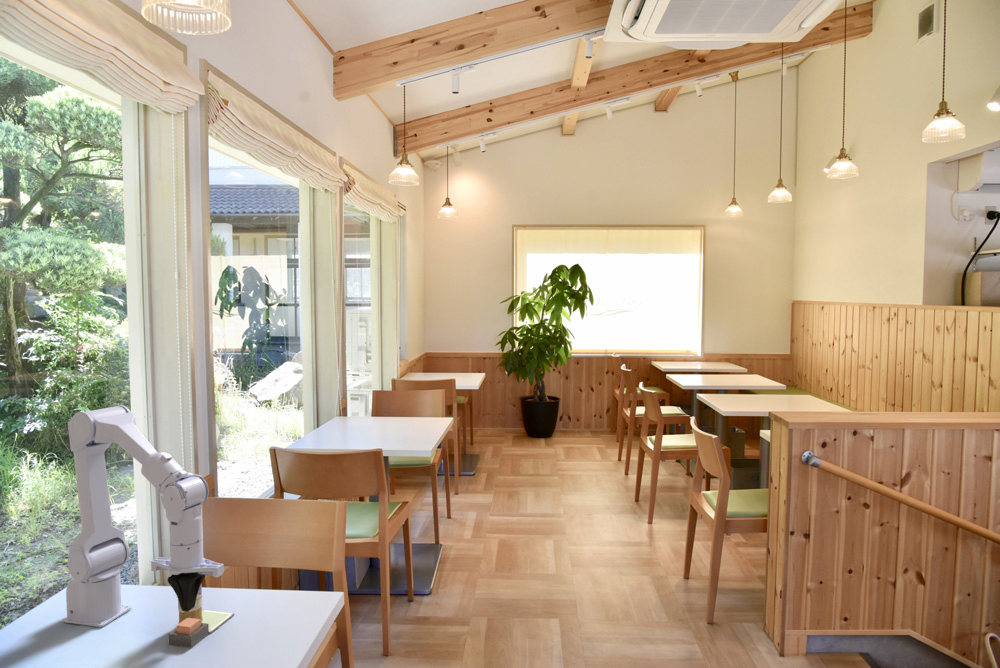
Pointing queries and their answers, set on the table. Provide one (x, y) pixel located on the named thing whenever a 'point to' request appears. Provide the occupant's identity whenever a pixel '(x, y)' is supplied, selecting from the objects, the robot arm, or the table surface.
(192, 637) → the button housing
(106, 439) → the robot arm
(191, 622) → the button
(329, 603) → the table surface
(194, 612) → the sprinkles bottle
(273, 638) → the table surface
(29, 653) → the table surface
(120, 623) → the table surface
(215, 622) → the picture board
